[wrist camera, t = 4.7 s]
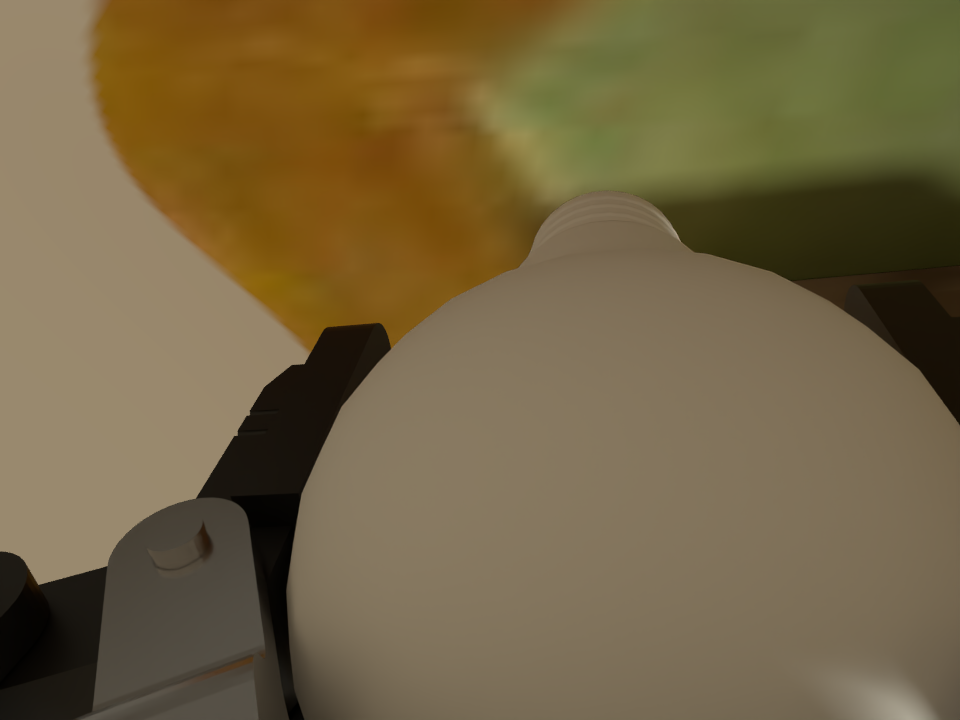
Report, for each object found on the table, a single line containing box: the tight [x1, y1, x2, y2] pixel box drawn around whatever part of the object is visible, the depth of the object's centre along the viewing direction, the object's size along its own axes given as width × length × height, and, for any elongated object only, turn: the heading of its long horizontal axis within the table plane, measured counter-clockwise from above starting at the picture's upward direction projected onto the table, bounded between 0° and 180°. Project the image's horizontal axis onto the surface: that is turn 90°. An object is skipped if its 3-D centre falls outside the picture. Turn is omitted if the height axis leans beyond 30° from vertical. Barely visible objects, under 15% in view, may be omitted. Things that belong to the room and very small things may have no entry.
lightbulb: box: [286, 191, 960, 720], centre depth 9 cm, size 6×6×11 cm
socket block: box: [791, 266, 960, 317], centre depth 24 cm, size 11×11×5 cm
